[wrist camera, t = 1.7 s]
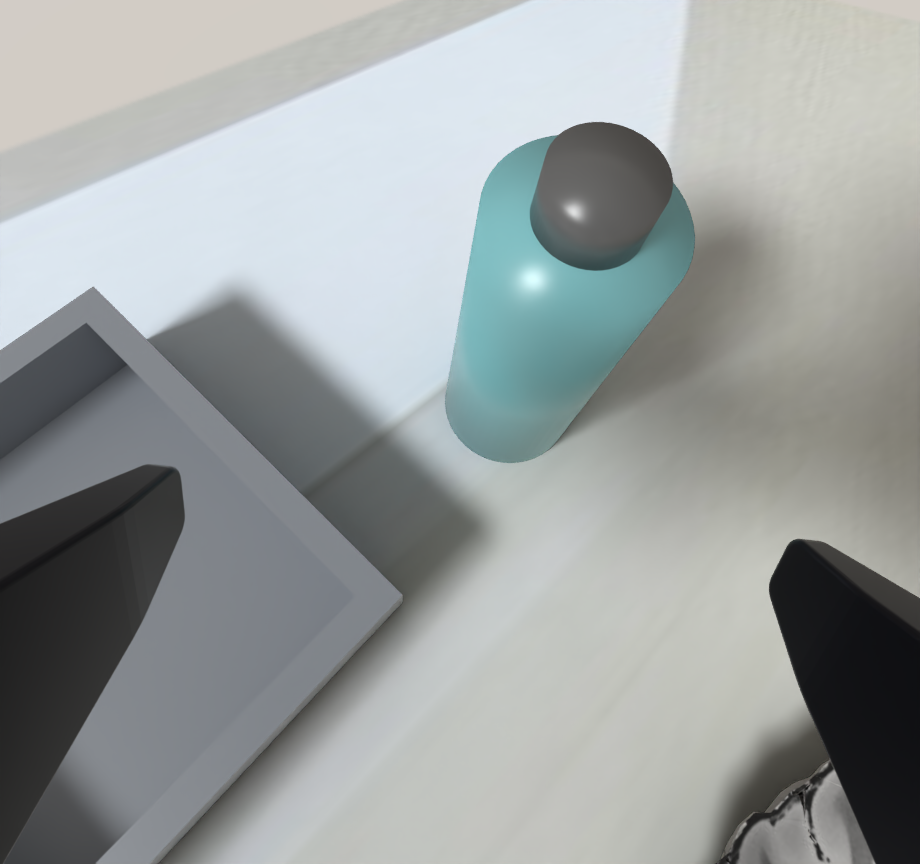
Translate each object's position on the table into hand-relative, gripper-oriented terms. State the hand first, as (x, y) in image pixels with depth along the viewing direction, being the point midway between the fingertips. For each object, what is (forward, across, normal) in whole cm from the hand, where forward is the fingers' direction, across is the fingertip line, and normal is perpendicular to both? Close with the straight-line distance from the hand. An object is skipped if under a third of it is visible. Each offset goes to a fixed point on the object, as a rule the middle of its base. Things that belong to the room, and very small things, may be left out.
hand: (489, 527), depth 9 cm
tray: (+8, +12, +12) cm, 18 cm away
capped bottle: (+15, -2, +5) cm, 16 cm away
